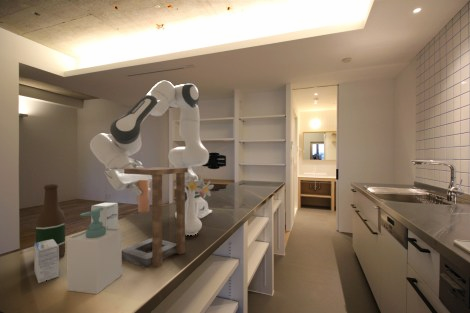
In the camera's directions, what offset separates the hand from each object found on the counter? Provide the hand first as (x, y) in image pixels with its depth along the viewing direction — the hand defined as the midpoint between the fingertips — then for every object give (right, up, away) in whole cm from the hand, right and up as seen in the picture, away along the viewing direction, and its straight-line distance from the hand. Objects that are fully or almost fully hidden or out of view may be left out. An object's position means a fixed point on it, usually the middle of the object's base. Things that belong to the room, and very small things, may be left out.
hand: (145, 192), depth 83 cm
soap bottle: (-2, -19, -27) cm, 33 cm away
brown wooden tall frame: (+8, -19, -11) cm, 23 cm away
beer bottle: (-26, -19, -12) cm, 35 cm away
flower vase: (+16, -19, +10) cm, 27 cm away
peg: (-1, -7, 0) cm, 7 cm away
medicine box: (-18, -19, -23) cm, 35 cm away
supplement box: (-22, -19, +11) cm, 31 cm away
